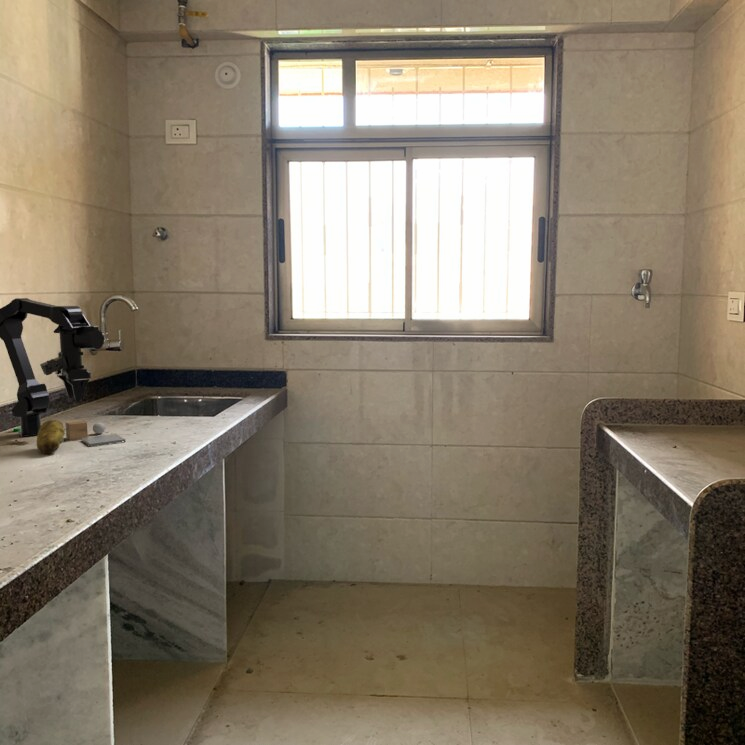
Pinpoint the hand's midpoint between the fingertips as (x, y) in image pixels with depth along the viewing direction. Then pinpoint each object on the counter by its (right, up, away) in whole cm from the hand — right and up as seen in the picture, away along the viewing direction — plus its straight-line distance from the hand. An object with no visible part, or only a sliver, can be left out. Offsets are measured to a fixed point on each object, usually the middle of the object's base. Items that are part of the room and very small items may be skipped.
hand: (74, 400), depth 215 cm
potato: (-1, -14, -14) cm, 20 cm away
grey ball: (+5, -9, +7) cm, 12 cm away
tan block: (0, -12, +2) cm, 12 cm away
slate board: (+10, -12, -4) cm, 16 cm away
